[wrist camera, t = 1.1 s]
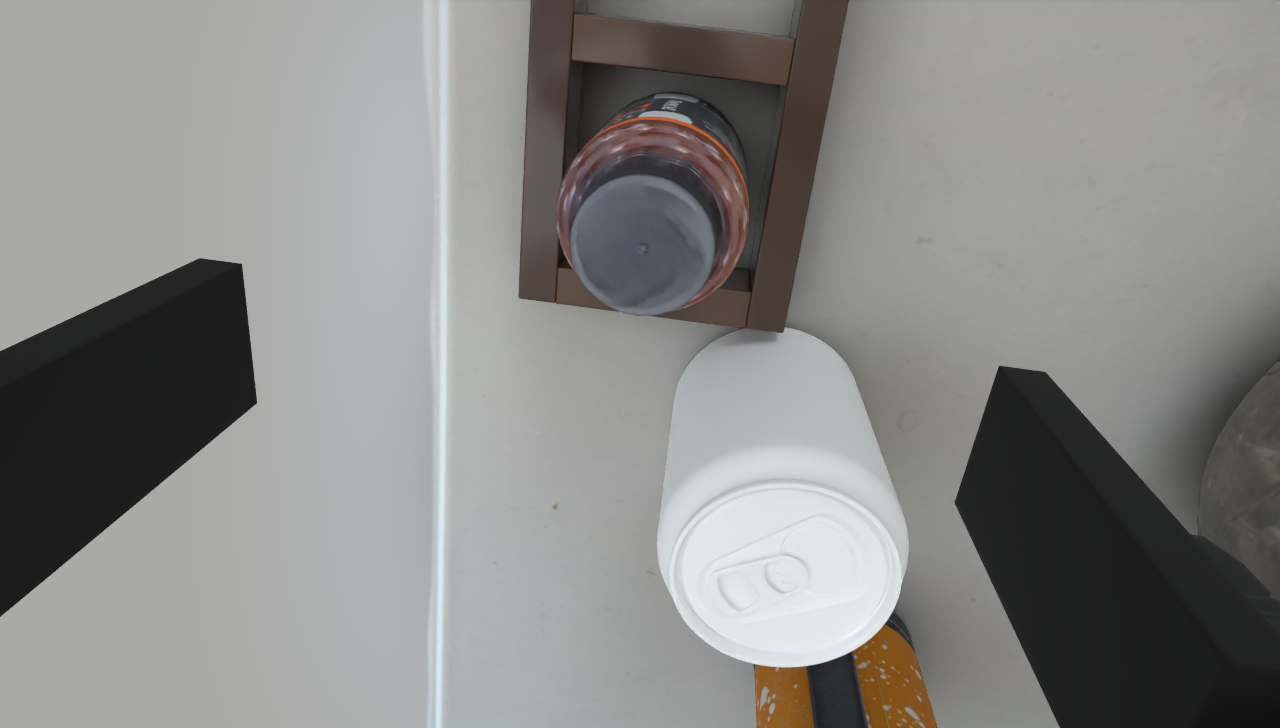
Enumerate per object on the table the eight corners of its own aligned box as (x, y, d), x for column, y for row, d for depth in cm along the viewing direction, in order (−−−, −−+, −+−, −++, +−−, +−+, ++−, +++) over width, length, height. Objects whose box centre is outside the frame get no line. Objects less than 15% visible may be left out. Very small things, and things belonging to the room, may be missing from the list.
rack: (534, 275, 34) (517, 298, 31) (563, -294, 26) (544, -331, 23) (778, 307, 33) (783, 334, 31) (887, -262, 25) (907, -295, 22)
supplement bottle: (644, 57, 30) (603, 84, 20) (775, 143, 31) (801, 212, 20) (569, 191, 32) (497, 278, 22) (692, 268, 33) (678, 385, 23)
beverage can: (884, 444, 36) (955, 637, 25) (719, 503, 38) (718, 705, 27) (816, 289, 33) (863, 430, 22) (643, 362, 35) (608, 523, 24)
